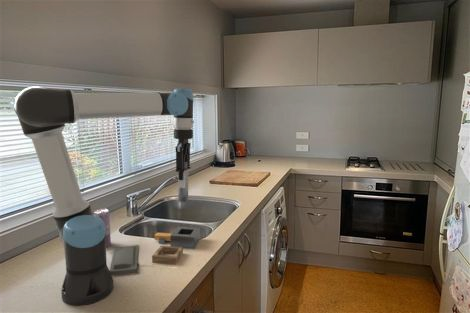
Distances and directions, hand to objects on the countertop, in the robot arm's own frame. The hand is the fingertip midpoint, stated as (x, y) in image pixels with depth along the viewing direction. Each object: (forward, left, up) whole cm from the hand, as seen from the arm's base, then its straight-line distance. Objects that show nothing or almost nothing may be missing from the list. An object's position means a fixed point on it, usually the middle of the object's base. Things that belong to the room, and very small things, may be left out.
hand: (183, 185), depth 133 cm
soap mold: (-16, +18, -27) cm, 36 cm away
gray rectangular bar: (0, 0, -6) cm, 6 cm away
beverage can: (-5, +33, -26) cm, 43 cm away
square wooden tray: (-13, +2, -26) cm, 29 cm away
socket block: (+1, +2, -26) cm, 26 cm away
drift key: (+1, +9, -24) cm, 26 cm away
